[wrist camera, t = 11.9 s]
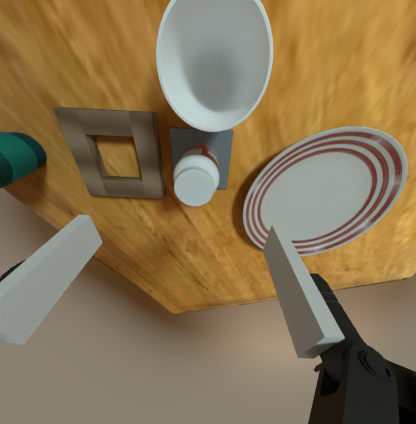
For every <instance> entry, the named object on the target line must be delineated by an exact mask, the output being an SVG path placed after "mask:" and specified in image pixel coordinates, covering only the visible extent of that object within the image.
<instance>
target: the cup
mask: <svg viewBox="0 0 416 424" xmlns="http://www.w3.org/2000/svg"><path fill="white" fill-rule="evenodd" d="M45 162H46V154H45V152H44V150H43V148H42V147H41V146H40V144H39V143H38V142H37V141H35V140H34V139H33V138H31V137H30V136H28V135H25V134H22V133H16V132H10V133H6V132H0V188H2V187H5V186H8V185H10V184H12V183H13V182H15V181H17V180H19V179H21V178H23V177H24V176H26V175H28V174H30V173H32V172H34V171H35V170H36V169H37V168H39V167H41V166H43V165H44V164H45Z"/></svg>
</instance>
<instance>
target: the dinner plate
mask: <svg viewBox="0 0 416 424" xmlns="http://www.w3.org/2000/svg"><path fill="white" fill-rule="evenodd" d="M407 170H408V163H407V158H406V154H405V152H404V149H403V148H402V146H401V145H400V143H399V142H398V141H397V140H396V139H395V138H393V137H392V136H391V135H389V134H387V133H385V132H383V131H381V130H378V129H374V128H370V127H362V126H349V127H340V128H335V129H330V130H326V131H323V132H320V133H317V134H315V135H312V136H310V137H307V138H305V139H303V140H301V141H299V142H297V143H295V144H293V145H292V146H290V147H289V148H287V149H286V150H284V151H283V152H281V153H280V154H279V155H278V156H276V157H275V158H274V159H273V160H272V161H271V162H270V163H269V164H268V165H267V166H266V167H265V168H264V169H263V170H262V171H261V172H260V174H259V175H258V176H257V177H256V179H255V180H254V182H253V184H252V185H251V187H250V189H249V191H248V193H247V196H246V199H245V202H244V206H243V224H244V227H245V230H246V232H247V234H248V236H249V238H250V239H251V240H252V241H253V242H254V243H255V244H256V245H257V246H259V247H260V248H262V249H263V248H264V245H265V242H266V240H267V237H268V234H269V231H270V228H271V226H272V224H273V225H283V227H284V229H285V230H286V232H287V234H288V236H289V238H290V239H291V241H292V243H293V245H294V247H295V248H296V250H297V252H298V254H299V256H308V255H314V254H319V253H323V252H326V251H330V250H332V249H335V248H338V247H340V246H342V245H344V244H347V243H349V242H350V241H352V240H354V239H356V238H357V237H359V236H361V235H362V234H364V233H365V232H366V231H368V230H369V229H371V228H372V227H373V226H374V225H375V224H377V223H378V222H379V221H380V220H381V219H382V218H383V217H384V216H385V215H386V214H387V213H388V212H389V210H390V209H391V208H392V207H393V205H394V204H395V202H396V201H397V199H398V198H399V196H400V194H401V192H402V190H403V188H404V185H405V182H406V178H407Z"/></svg>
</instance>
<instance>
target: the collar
mask: <svg viewBox="0 0 416 424" xmlns="http://www.w3.org/2000/svg"><path fill="white" fill-rule="evenodd" d="M53 110H54V112H55V115H56V117H57V119H58V122H59V124H60V126H61V129H62V131H63V133H64V136H65V138H66V140H67V143H68V145H69V147H70V150H71V152H72V154H73V156H74V159H75V161H76V163H77V166H78V168H79V170H80V173H81V175H82V177H83V180H84V182H85V184H86V187H87V189H88V191H89V194H90V195H97V196H116V197H135V198H154V199H163V198H164V196H165V194H166V192H165V184H164V176H163V168H162V160H161V152H160V144H159V136H158V128H157V119H156V112H143V111H124V110H104V109H84V108H65V107H62V108H53ZM94 135H109V136H128V137H134V142H135V147H136V151H137V156H138V161H139V166H140V171H141V176H142V178H137V177H118V176H107V173H106V170H105V167H104V164H103V161H102V158H101V155H100V152H99V149H98V146H97V143H96V140H95V137H94Z"/></svg>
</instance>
